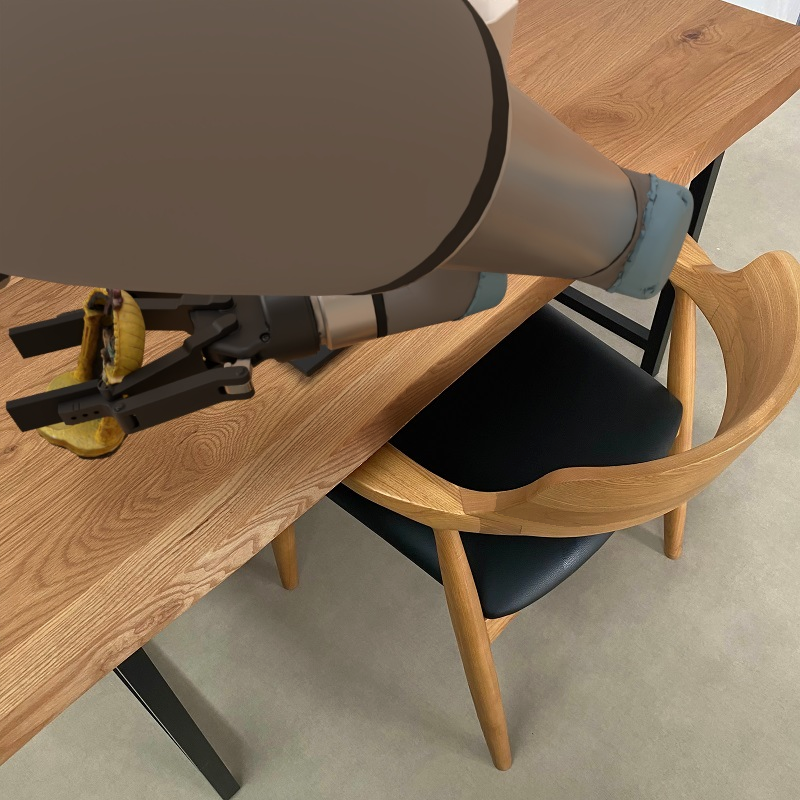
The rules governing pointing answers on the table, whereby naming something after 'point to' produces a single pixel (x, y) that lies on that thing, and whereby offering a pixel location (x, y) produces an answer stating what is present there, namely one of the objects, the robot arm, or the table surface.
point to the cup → (499, 22)
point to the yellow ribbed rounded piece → (101, 369)
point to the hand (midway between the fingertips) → (15, 379)
